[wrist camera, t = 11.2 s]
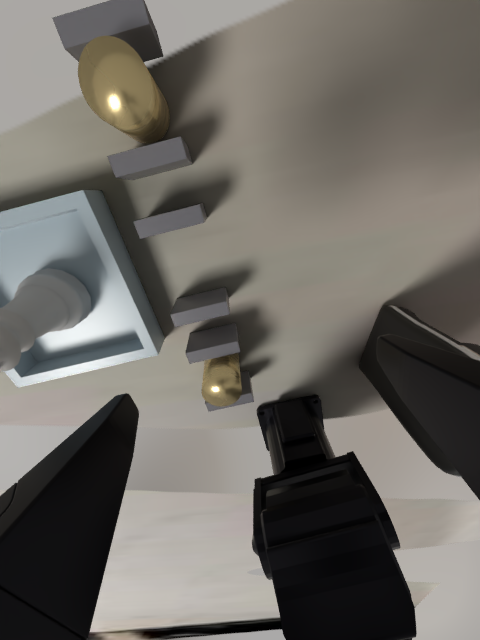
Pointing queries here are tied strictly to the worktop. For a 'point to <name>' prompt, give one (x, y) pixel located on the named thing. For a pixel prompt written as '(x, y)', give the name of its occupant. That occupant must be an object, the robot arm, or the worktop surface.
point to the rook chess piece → (40, 312)
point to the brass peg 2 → (222, 380)
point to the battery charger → (409, 328)
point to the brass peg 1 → (122, 89)
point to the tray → (92, 271)
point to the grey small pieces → (139, 32)
